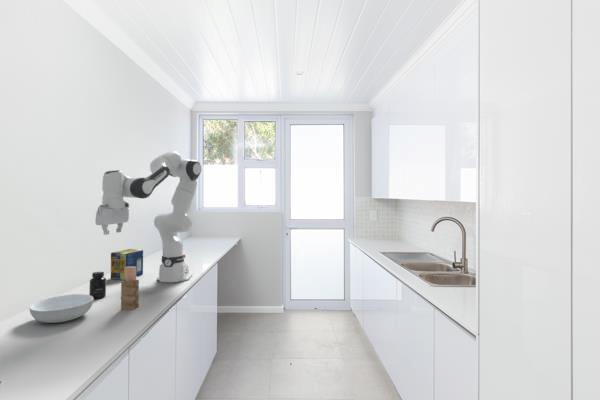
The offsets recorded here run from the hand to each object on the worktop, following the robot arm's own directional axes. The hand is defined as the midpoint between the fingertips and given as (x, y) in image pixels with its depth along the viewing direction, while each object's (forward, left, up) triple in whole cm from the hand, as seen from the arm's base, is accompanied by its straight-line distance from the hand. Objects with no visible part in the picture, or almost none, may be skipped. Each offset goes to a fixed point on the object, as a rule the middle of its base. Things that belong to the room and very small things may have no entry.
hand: (112, 233), depth 163 cm
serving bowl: (+27, -3, -31) cm, 42 cm away
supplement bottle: (-1, -8, -31) cm, 32 cm away
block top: (+12, +16, -23) cm, 31 cm away
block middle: (+12, +16, -27) cm, 34 cm away
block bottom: (+12, +16, -31) cm, 37 cm away
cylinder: (+12, +16, -19) cm, 28 cm away
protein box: (-42, -18, -31) cm, 55 cm away
